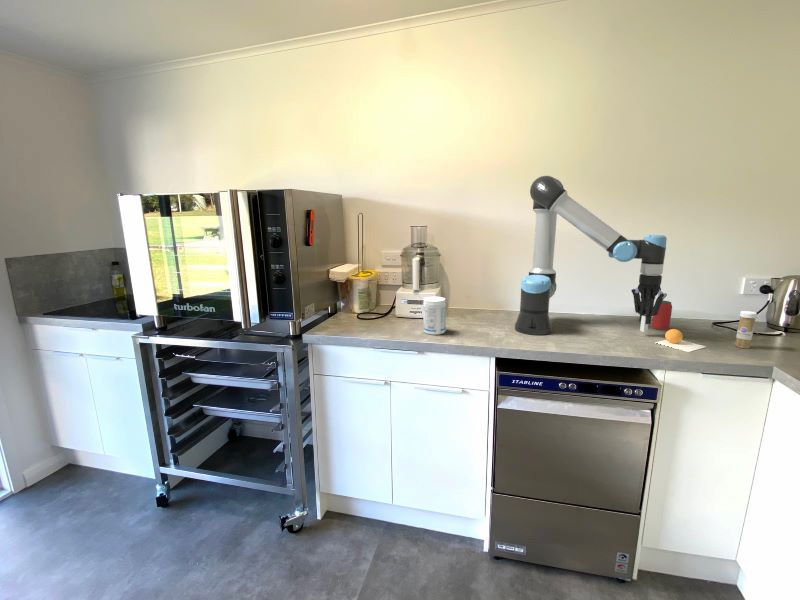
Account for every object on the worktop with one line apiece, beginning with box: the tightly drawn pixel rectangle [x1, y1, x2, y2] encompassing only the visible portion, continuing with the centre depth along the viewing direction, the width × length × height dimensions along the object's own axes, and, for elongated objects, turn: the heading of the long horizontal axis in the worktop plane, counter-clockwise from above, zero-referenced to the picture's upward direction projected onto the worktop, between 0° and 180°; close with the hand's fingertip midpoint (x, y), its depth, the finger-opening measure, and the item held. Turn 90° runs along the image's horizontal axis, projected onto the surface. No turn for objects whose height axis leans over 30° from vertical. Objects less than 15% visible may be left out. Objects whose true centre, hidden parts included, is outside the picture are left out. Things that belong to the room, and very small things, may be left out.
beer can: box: [651, 300, 673, 331], centre depth 168 cm, size 7×7×12 cm
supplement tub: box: [422, 296, 447, 336], centre depth 165 cm, size 10×10×15 cm
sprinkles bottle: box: [734, 310, 758, 349], centre depth 143 cm, size 5×5×14 cm
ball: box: [664, 328, 684, 343], centre depth 149 cm, size 6×6×6 cm
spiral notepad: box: [654, 339, 707, 353], centre depth 147 cm, size 12×12×1 cm
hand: (643, 331), depth 159 cm, fingers closed
